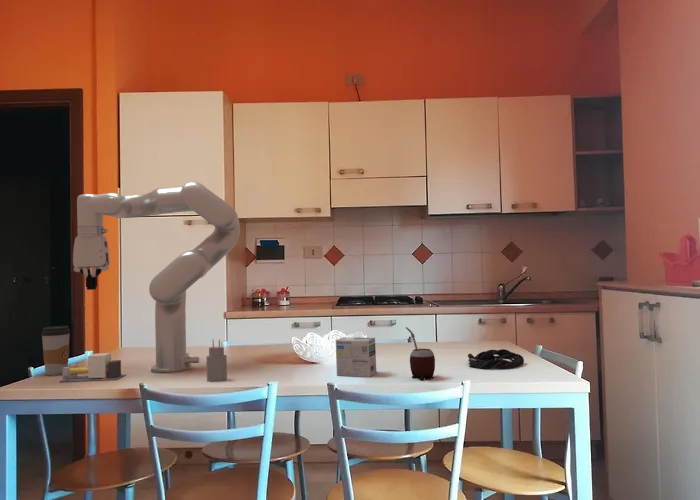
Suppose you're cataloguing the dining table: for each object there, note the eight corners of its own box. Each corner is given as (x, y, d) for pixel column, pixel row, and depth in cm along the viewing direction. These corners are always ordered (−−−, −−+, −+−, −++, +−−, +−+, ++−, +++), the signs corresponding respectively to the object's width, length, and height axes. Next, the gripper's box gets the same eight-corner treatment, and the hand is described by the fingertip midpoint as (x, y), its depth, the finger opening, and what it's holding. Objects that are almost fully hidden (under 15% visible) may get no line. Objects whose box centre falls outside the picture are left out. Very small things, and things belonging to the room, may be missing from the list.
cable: (519, 361, 174) (519, 348, 174) (530, 370, 160) (529, 355, 160) (466, 362, 176) (465, 349, 176) (471, 371, 162) (470, 356, 162)
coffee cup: (58, 376, 170) (57, 328, 171) (35, 376, 172) (34, 329, 172) (76, 371, 178) (76, 325, 179) (54, 370, 180) (54, 325, 180)
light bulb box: (377, 373, 161) (376, 336, 162) (370, 377, 155) (369, 340, 155) (343, 371, 165) (342, 336, 165) (335, 376, 159) (334, 339, 159)
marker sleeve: (111, 374, 167) (110, 353, 167) (105, 377, 163) (104, 355, 163) (95, 374, 167) (94, 353, 167) (88, 378, 163) (88, 356, 163)
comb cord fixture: (125, 375, 169) (125, 359, 169) (116, 380, 162) (116, 363, 162) (70, 377, 168) (70, 360, 168) (59, 382, 161) (59, 365, 161)
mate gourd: (436, 375, 155) (434, 323, 155) (434, 382, 147) (432, 327, 147) (410, 375, 156) (408, 323, 157) (407, 381, 149) (405, 327, 149)
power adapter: (209, 379, 159) (208, 338, 159) (227, 379, 159) (226, 338, 159) (206, 381, 156) (205, 340, 156) (224, 381, 156) (223, 339, 156)
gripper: (118, 232, 178) (119, 288, 177) (72, 234, 177) (73, 289, 177) (109, 231, 170) (110, 289, 170) (61, 232, 170) (62, 290, 169)
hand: (91, 289), depth 173 cm, fingers closed
